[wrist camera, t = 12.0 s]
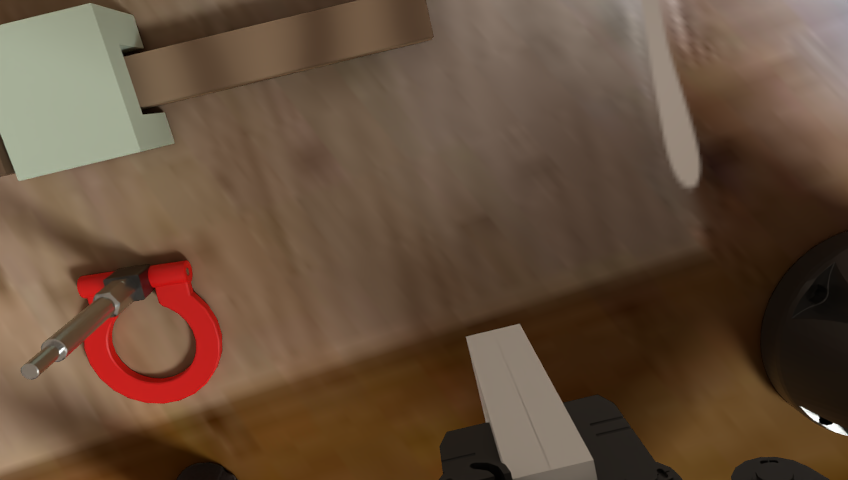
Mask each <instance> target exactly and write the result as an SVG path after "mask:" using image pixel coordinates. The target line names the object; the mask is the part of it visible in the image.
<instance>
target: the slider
mask: <svg viewBox="0 0 848 480" xmlns="http://www.w3.org/2000/svg"><path fill="white" fill-rule="evenodd" d="M140 49H144V47H143V44H142V41H141V37H140V34H139V31H138V28H137V25H136V22H135V19H134V16H133V15H131V14H127V13H124V12H120V11H117V10H113V9H110V8H106V7H103V6H100V5H96V4H93V3H88V4H84V5H80V6H76V7H72V8H68V9H63V10H59V11H55V12H51V13H47V14H43V15H39V16H35V17H31V18H26V19H22V20H18V21H14V22H10V23H6V24H2V25H0V134H1V137H2V139H3V142H4V145H5V147H6V150H7V152H8V155H9V157H10V160H11V163H12V165H13V168H14V170H15V173H16V175H17V178H18V181H21V180H26V179H30V178H34V177H38V176H42V175H46V174H50V173H55V172H59V171H63V170H67V169H71V168H75V167H79V166H84V165H88V164H92V163H96V162H100V161H104V160H109V159H113V158H117V157H121V156H125V155H129V154H133V153H138V152H142V151H146V150H150V149H154V148H158V147H162V146H166V145H170V144H174V143H175V142H174V139H173V136H172V133H171V130H170V127H169V124H168V121H167V118H166V115H165V112H164V113H154V114H144V115H143V114H142V111H141V108H140V105H139V102H138V99H137V96H136V93H135V90H134V87H133V84H132V81H131V78H130V75H129V72H128V69H127V66H126V63H125V60H124V57H123V53H127V52H131V51H135V50H140Z"/></svg>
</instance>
